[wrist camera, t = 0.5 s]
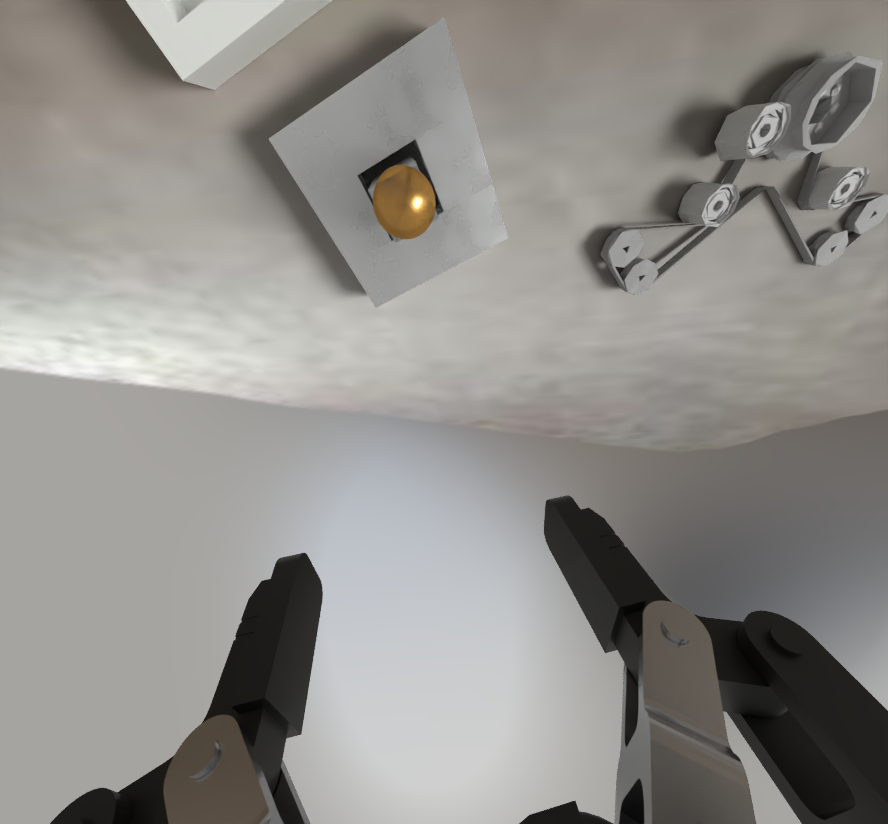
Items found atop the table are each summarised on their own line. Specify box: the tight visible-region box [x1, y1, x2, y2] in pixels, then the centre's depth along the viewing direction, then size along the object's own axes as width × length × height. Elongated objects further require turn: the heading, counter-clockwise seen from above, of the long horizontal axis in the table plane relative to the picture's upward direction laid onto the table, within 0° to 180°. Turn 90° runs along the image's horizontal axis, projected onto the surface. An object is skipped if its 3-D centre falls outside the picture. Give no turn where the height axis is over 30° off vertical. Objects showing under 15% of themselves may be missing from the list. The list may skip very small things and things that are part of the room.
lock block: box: [269, 17, 508, 307], centre depth 23 cm, size 12×12×3 cm
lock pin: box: [368, 156, 439, 243], centre depth 21 cm, size 4×4×8 cm
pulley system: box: [601, 52, 888, 295], centre depth 26 cm, size 27×5×15 cm
